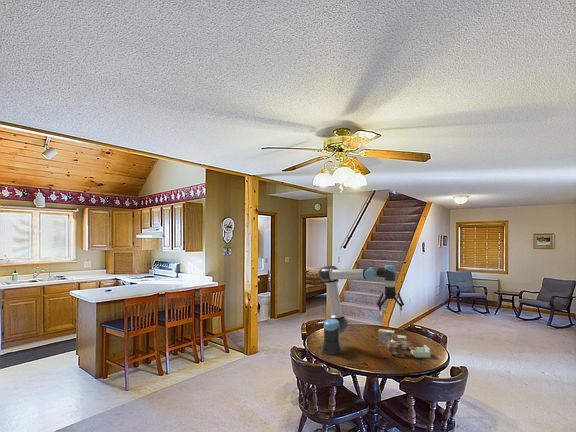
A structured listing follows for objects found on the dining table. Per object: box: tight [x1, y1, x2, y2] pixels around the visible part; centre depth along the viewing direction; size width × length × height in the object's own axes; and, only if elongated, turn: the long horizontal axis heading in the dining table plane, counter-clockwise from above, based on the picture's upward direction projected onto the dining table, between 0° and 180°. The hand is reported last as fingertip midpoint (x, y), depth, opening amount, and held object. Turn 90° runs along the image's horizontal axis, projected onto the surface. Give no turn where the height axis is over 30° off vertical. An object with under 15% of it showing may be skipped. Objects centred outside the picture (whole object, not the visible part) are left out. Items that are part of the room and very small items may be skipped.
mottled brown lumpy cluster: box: [386, 340, 416, 353], centre depth 248 cm, size 18×11×7 cm, turn 89°
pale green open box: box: [410, 344, 431, 359], centre depth 250 cm, size 11×10×6 cm
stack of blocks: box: [377, 328, 408, 351], centre depth 269 cm, size 21×6×12 cm, turn 63°
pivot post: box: [392, 345, 405, 358], centre depth 251 cm, size 6×8×8 cm
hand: (390, 315), depth 248 cm, fingers open, 13 cm apart
